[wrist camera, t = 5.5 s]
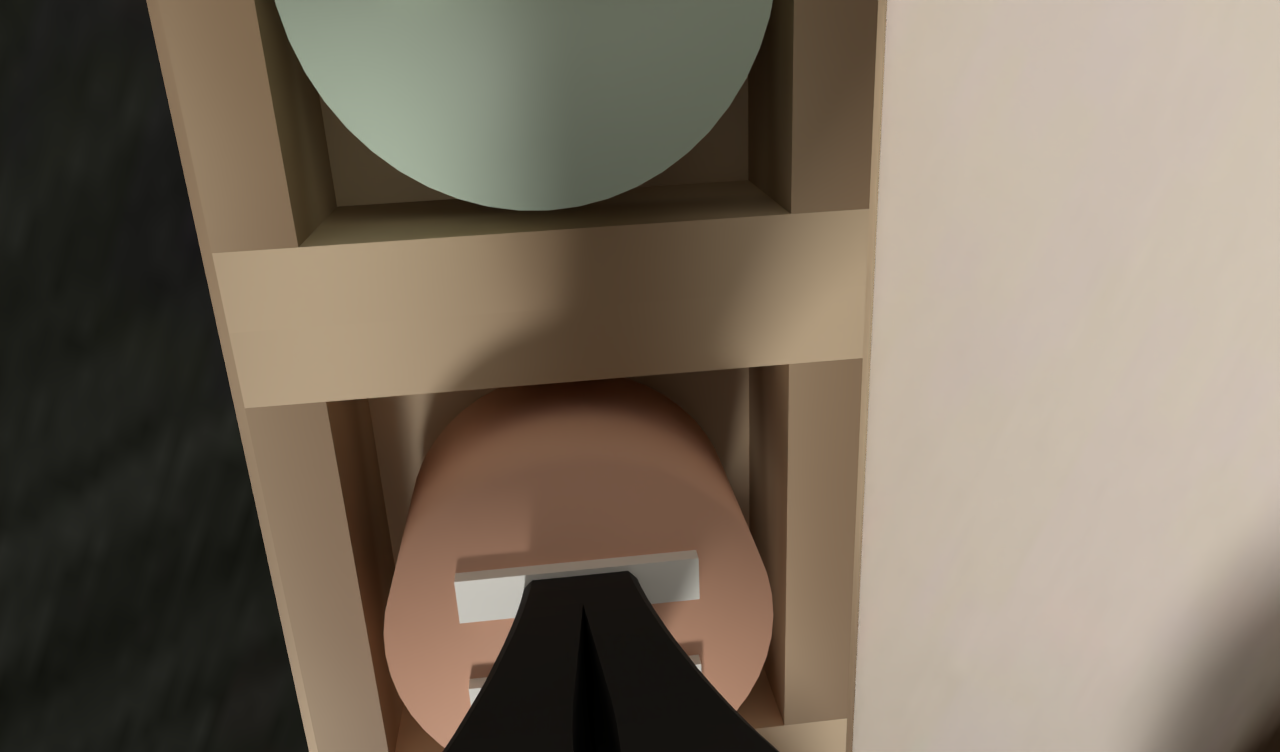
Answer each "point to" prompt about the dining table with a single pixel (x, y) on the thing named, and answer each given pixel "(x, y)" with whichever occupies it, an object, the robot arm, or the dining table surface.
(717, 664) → the terracotta button
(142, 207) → the dining table surface
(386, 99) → the sage button
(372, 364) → the wooden compartment tray
